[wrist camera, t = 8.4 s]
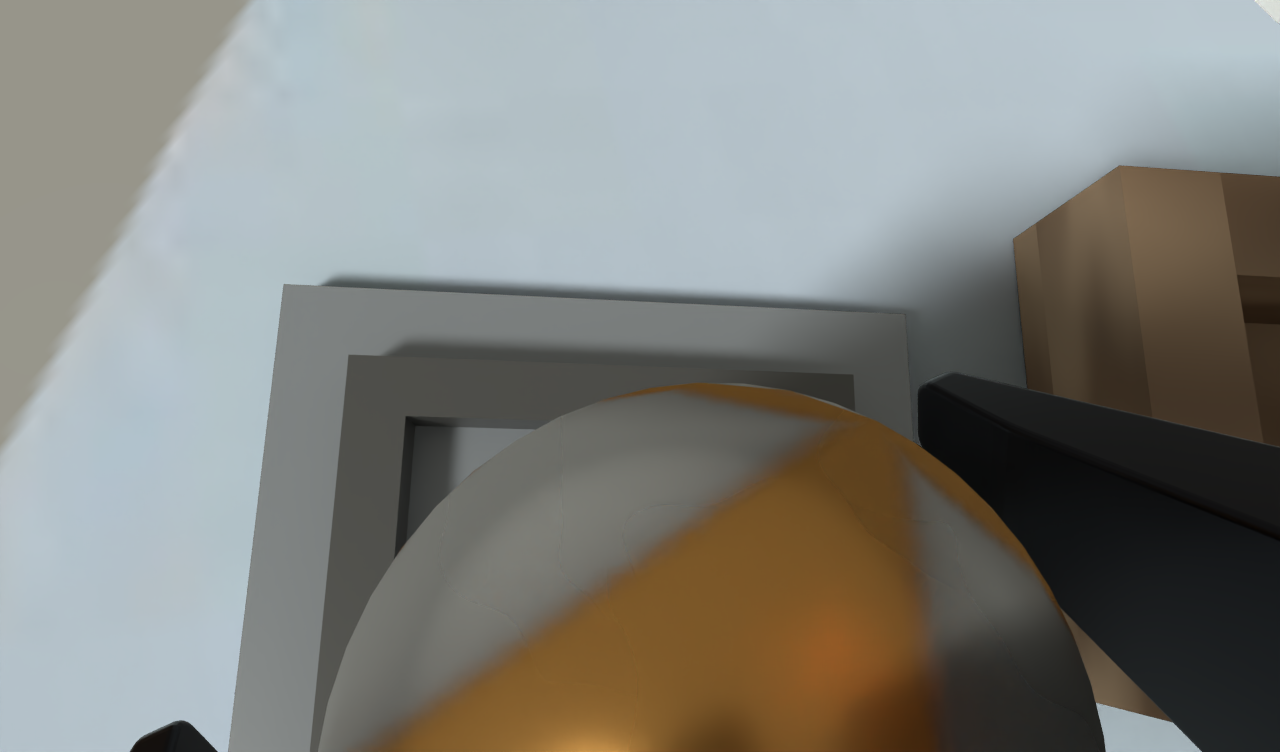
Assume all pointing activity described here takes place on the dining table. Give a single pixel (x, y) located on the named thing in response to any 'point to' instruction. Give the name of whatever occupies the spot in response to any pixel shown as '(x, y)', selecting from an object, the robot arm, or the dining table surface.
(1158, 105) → the dining table surface
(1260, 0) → the white cylinder
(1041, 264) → the socket block
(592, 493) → the gold-topped cylinder
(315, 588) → the tray
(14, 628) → the dining table surface
